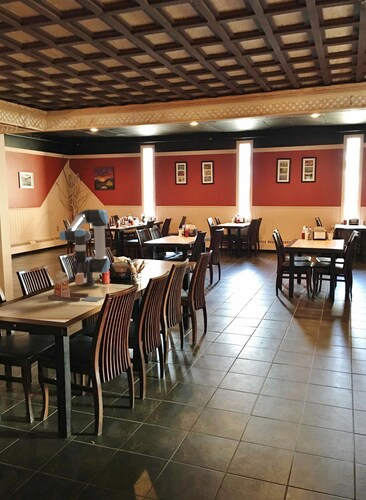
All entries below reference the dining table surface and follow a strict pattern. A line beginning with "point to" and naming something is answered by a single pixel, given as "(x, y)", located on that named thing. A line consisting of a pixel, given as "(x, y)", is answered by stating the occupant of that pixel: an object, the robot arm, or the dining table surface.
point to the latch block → (80, 279)
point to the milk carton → (61, 285)
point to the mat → (92, 299)
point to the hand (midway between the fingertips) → (81, 282)
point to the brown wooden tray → (68, 297)
